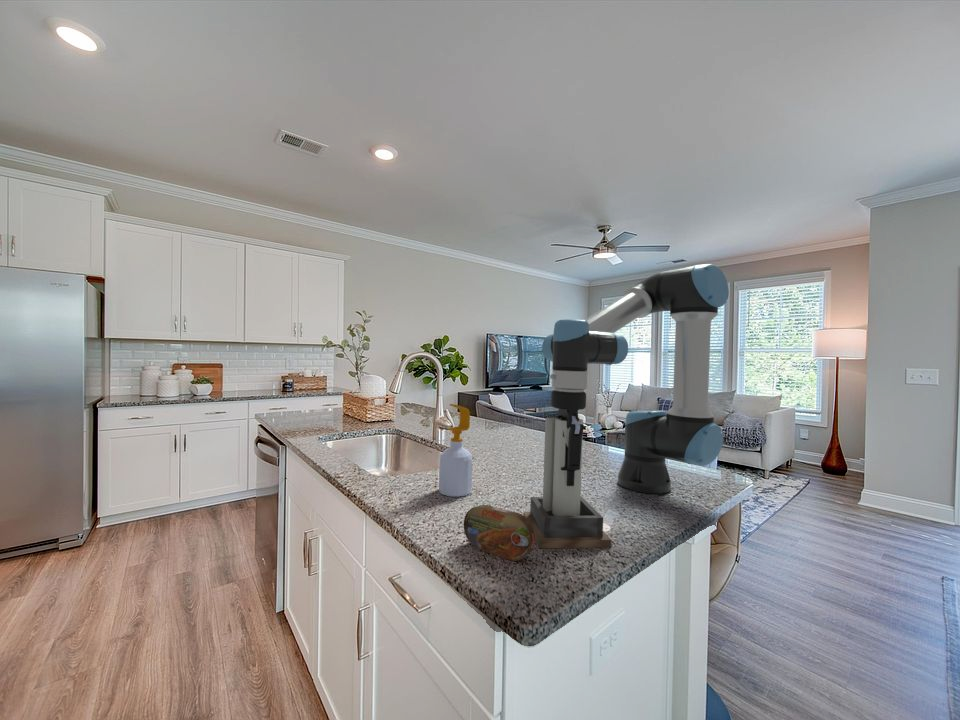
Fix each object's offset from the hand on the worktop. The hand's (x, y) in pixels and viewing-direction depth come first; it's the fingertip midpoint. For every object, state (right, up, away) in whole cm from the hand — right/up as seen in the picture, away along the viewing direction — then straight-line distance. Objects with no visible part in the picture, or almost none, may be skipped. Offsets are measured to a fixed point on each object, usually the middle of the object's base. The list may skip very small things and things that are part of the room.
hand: (564, 496), depth 88 cm
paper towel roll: (0, -4, 0) cm, 4 cm away
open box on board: (0, -8, 0) cm, 8 cm away
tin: (-15, -8, -10) cm, 20 cm away
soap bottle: (-26, -7, +24) cm, 36 cm away
